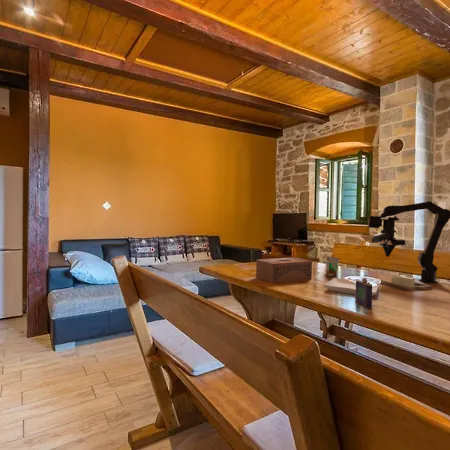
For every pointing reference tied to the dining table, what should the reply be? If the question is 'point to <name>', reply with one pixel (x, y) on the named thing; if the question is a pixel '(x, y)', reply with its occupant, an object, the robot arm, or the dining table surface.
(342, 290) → the salad plate
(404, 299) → the dining table surface
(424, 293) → the dining table surface
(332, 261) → the food container
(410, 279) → the T block
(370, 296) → the flask
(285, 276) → the tissue box cover
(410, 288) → the frame
